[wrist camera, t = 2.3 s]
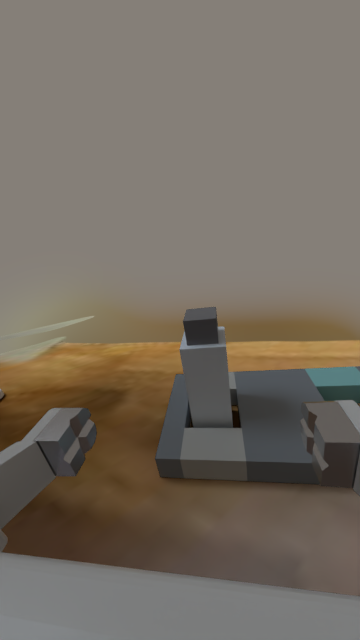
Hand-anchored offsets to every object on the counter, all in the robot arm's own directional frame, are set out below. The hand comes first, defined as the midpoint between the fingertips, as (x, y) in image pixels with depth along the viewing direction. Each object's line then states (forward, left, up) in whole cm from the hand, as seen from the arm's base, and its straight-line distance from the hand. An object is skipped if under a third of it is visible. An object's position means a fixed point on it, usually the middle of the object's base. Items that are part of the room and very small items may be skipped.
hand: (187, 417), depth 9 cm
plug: (-6, +11, -14) cm, 19 cm away
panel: (0, +14, -14) cm, 20 cm away
